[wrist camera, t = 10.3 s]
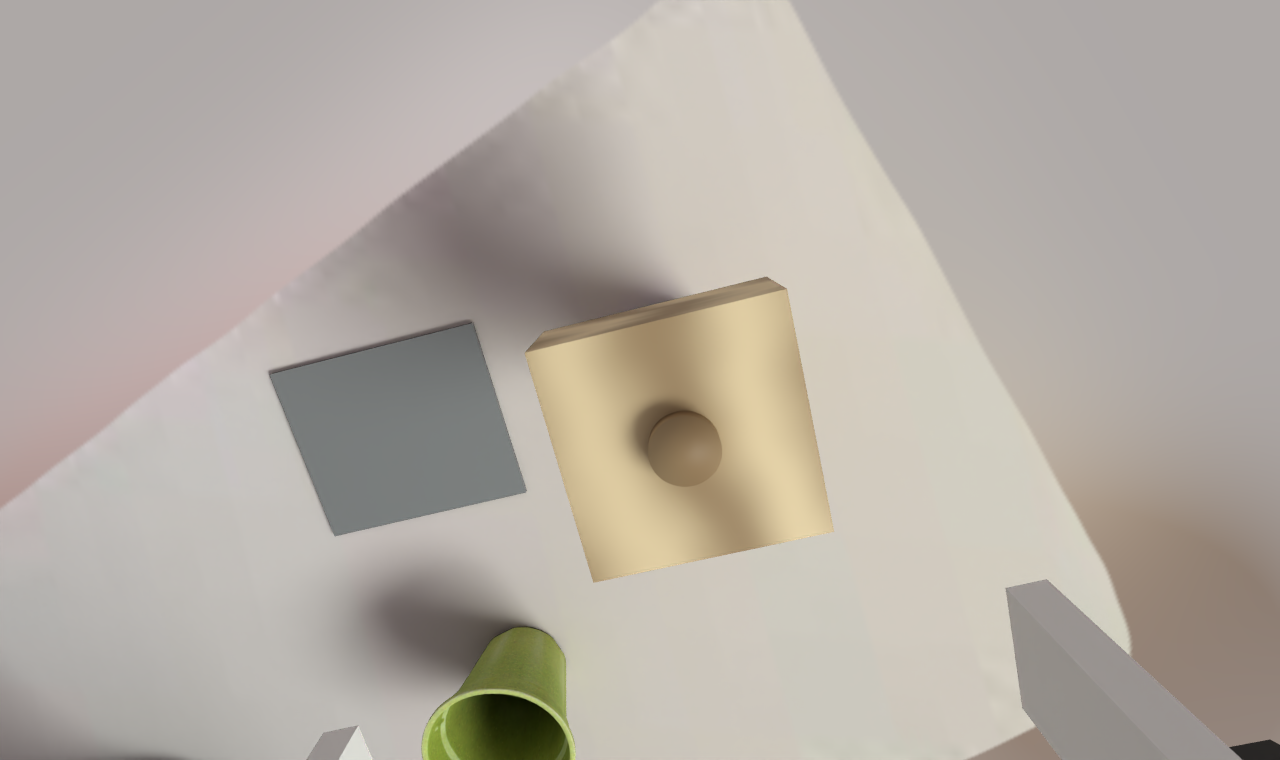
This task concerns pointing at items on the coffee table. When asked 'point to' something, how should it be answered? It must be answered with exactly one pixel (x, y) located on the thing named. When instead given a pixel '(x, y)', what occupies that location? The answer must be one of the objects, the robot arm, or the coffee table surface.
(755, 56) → the coffee table surface
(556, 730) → the plant pot
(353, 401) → the mat
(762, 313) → the lid
